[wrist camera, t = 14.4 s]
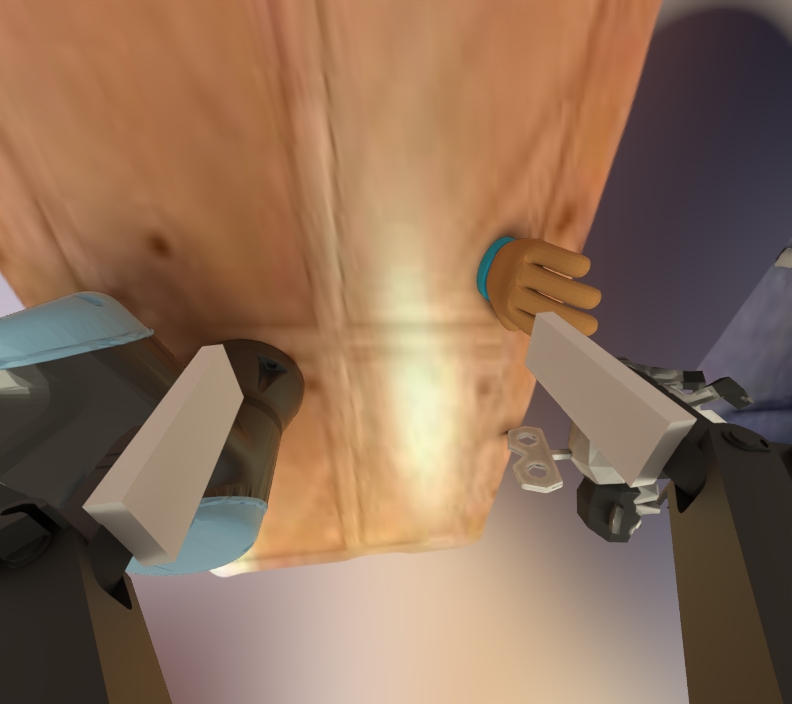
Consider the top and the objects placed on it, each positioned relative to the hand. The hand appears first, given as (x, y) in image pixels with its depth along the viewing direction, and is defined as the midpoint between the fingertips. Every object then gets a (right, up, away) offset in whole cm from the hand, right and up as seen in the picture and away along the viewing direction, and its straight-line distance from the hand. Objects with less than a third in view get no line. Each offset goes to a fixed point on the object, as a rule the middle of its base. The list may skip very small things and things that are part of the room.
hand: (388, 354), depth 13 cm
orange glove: (+14, +10, +28) cm, 33 cm away
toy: (+35, -10, +44) cm, 57 cm away
